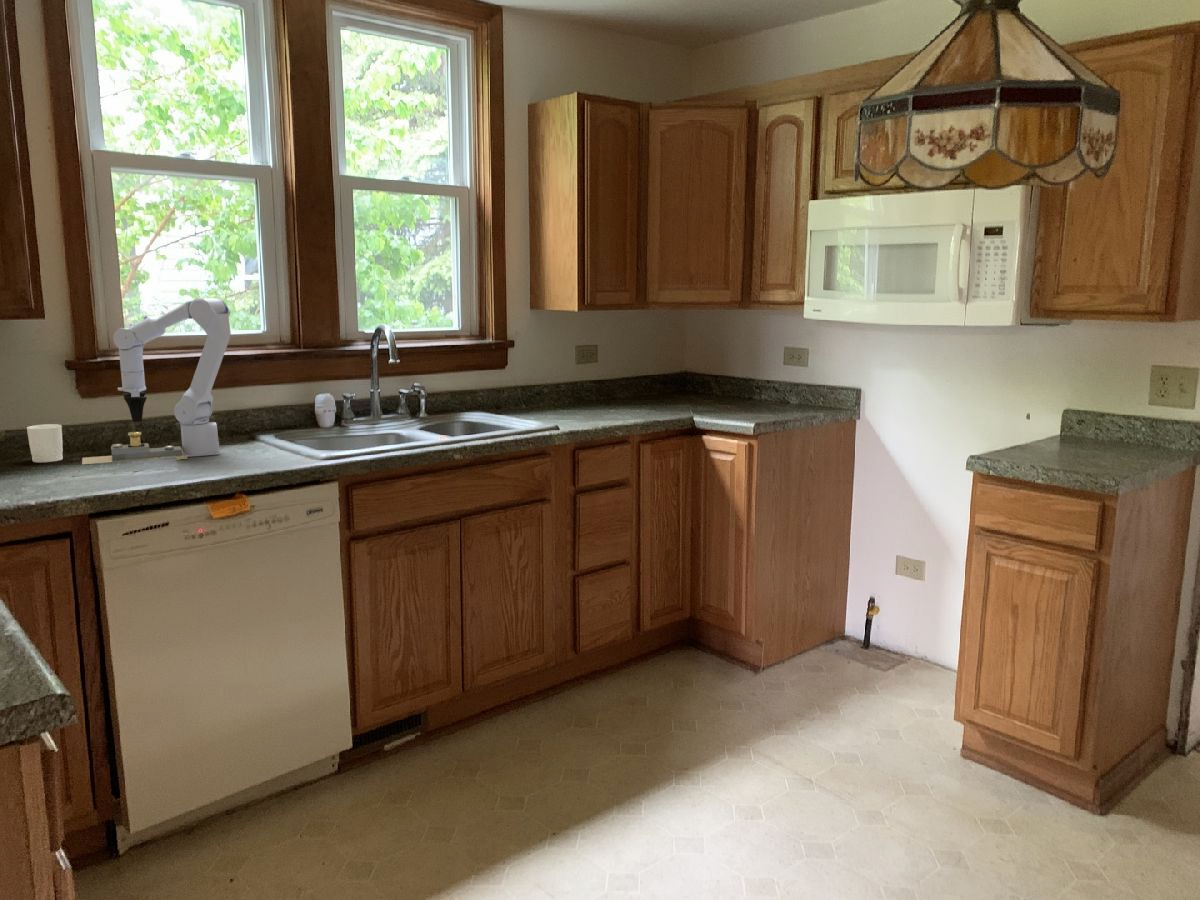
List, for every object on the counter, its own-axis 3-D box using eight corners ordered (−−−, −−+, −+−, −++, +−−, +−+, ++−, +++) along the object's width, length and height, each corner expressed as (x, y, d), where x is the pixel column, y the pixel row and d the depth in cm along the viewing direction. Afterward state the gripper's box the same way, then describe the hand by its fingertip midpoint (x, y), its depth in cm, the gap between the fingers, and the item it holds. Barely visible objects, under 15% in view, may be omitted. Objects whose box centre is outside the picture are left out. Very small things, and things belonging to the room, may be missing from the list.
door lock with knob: (184, 453, 255) (183, 437, 254) (187, 459, 247) (186, 442, 246) (82, 461, 243) (81, 444, 243) (82, 468, 235) (80, 450, 234)
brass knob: (143, 455, 247) (140, 431, 246) (143, 457, 244) (141, 433, 243) (129, 456, 246) (127, 432, 244) (130, 458, 243) (128, 433, 242)
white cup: (27, 463, 241) (23, 426, 239) (60, 459, 246) (56, 423, 244) (35, 467, 235) (31, 429, 233) (69, 463, 240) (65, 426, 239)
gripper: (115, 369, 256) (120, 417, 259) (116, 374, 244) (121, 424, 246) (143, 368, 260) (147, 415, 262) (146, 373, 247) (150, 422, 250)
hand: (136, 419), depth 254 cm, fingers open, 7 cm apart
